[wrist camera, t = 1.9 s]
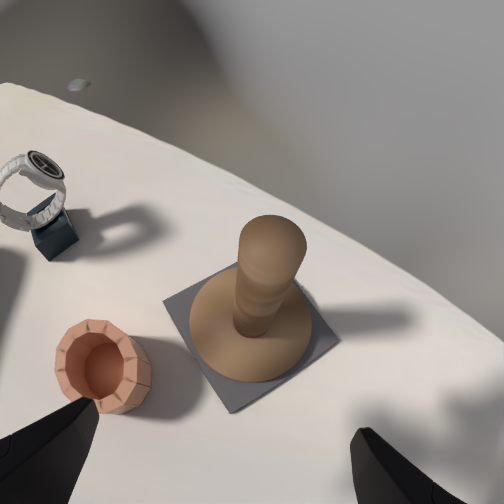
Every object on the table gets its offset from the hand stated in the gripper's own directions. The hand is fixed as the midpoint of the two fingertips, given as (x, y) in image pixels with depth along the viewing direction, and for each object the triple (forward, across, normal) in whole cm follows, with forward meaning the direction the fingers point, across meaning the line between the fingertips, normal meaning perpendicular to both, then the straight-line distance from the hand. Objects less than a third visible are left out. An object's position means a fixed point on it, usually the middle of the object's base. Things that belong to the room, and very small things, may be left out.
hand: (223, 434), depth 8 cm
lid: (+15, -1, +4) cm, 16 cm away
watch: (+20, +21, 0) cm, 29 cm away
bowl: (+11, +10, +8) cm, 17 cm away
